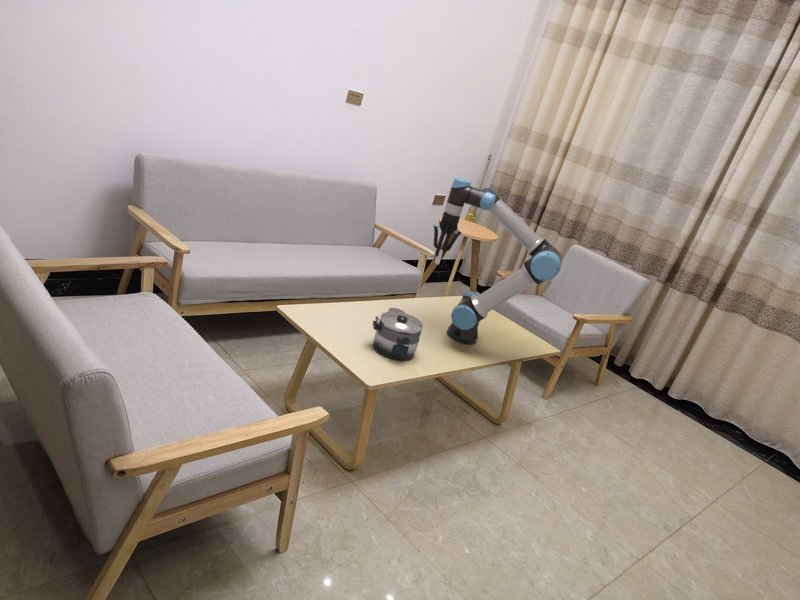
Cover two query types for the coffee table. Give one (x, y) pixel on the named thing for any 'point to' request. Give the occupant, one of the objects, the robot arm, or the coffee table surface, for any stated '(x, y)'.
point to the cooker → (394, 343)
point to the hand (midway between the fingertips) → (436, 263)
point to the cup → (395, 310)
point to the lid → (400, 322)
